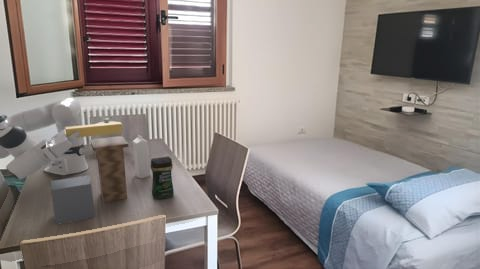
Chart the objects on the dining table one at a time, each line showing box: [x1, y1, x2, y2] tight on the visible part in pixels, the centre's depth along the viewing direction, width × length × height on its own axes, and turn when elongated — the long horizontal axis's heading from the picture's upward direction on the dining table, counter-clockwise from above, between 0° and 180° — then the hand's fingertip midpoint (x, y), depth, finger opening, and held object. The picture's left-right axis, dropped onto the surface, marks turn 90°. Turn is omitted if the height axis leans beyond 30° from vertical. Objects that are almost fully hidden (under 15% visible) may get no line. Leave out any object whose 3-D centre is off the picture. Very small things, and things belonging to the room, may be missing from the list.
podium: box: [50, 174, 96, 225], centre depth 139 cm, size 14×10×14 cm
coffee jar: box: [150, 155, 175, 200], centre depth 157 cm, size 10×8×19 cm
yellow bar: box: [65, 121, 123, 138], centre depth 148 cm, size 22×4×4 cm, turn 118°
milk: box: [132, 134, 151, 179], centre depth 181 cm, size 6×6×22 cm
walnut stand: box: [89, 135, 130, 203], centre depth 156 cm, size 14×14×26 cm
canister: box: [94, 117, 122, 139], centre depth 224 cm, size 18×18×21 cm
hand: (78, 130), depth 146 cm, fingers closed on yellow bar, 4 cm apart
